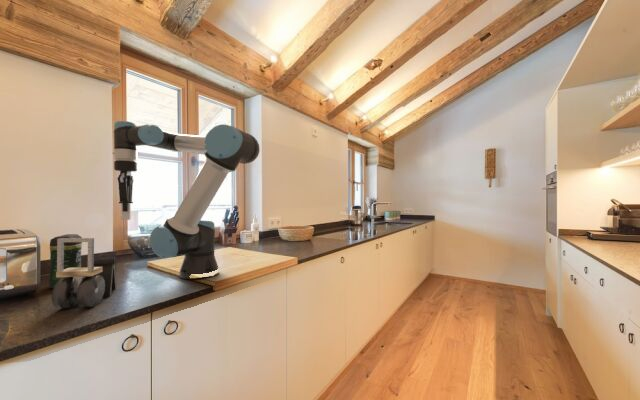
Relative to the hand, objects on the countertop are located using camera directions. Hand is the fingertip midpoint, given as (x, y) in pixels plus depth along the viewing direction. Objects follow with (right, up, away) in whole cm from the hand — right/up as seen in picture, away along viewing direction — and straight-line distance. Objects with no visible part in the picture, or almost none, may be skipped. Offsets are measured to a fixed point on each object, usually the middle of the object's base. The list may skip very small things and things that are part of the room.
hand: (126, 219), depth 110 cm
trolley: (+7, -24, -29) cm, 38 cm away
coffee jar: (-15, -24, -10) cm, 30 cm away
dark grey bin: (+5, -24, -18) cm, 30 cm away
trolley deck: (+7, -14, -29) cm, 33 cm away
